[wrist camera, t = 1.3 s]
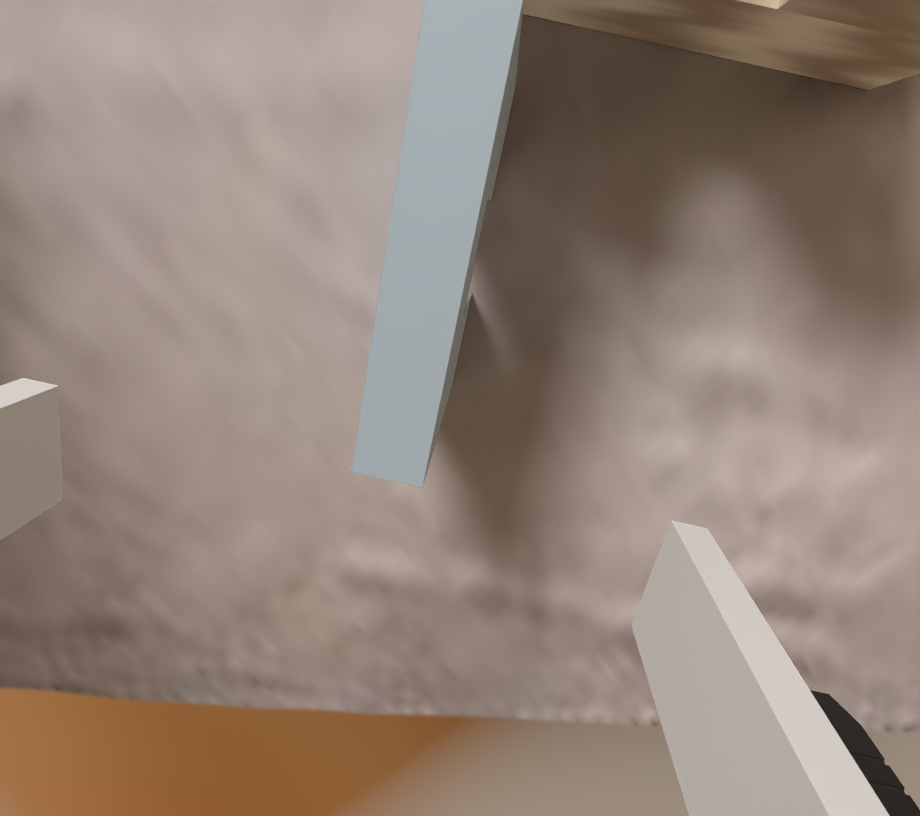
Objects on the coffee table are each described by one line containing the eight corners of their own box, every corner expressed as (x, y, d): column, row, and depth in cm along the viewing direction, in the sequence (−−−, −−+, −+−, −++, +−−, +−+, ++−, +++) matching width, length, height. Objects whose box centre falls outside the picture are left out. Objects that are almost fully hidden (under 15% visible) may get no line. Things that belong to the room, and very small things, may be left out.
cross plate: (453, 382, 30) (422, 487, 19) (408, 373, 30) (350, 472, 19) (515, 88, 25) (525, -10, 14) (462, 76, 25) (429, -31, 14)
